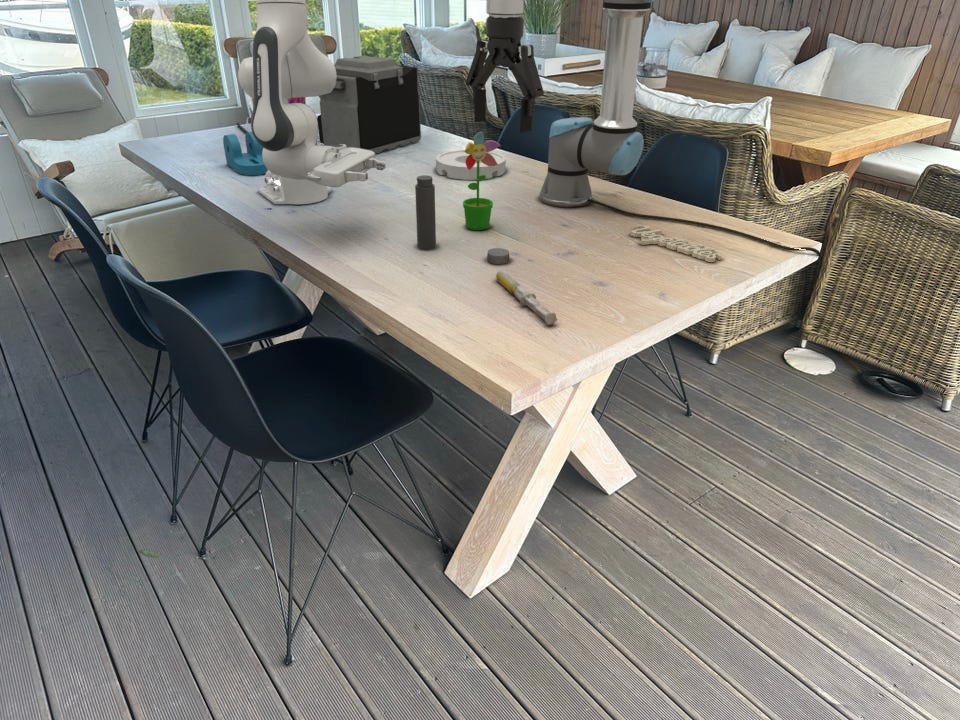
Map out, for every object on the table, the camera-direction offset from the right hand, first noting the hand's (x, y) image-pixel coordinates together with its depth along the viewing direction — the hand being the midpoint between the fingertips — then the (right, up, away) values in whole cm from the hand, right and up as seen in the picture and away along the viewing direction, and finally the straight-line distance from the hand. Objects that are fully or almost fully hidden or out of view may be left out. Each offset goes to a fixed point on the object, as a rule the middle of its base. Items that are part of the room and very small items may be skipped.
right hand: (502, 126), depth 147 cm
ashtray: (-8, +13, +83) cm, 84 cm away
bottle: (-18, -22, +23) cm, 36 cm away
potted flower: (-5, -15, +35) cm, 39 cm away
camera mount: (-81, +14, +82) cm, 116 cm away
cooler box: (-46, +30, +111) cm, 124 cm away
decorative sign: (+43, -22, +25) cm, 54 cm away
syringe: (+4, -38, -4) cm, 38 cm away
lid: (0, -25, +15) cm, 29 cm away
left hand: (-30, -5, +18) cm, 35 cm away
